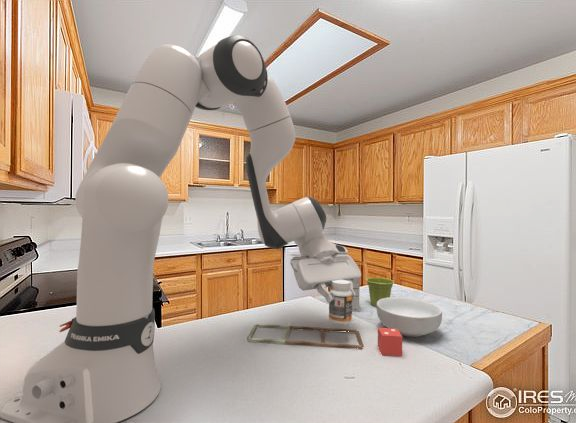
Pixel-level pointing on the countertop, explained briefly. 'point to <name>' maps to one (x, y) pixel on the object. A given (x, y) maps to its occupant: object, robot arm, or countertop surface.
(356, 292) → the supplement box
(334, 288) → the pill bottle
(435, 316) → the cereal bowl
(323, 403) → the countertop surface
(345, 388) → the countertop surface
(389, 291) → the plant pot
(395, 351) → the red die
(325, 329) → the track frame
